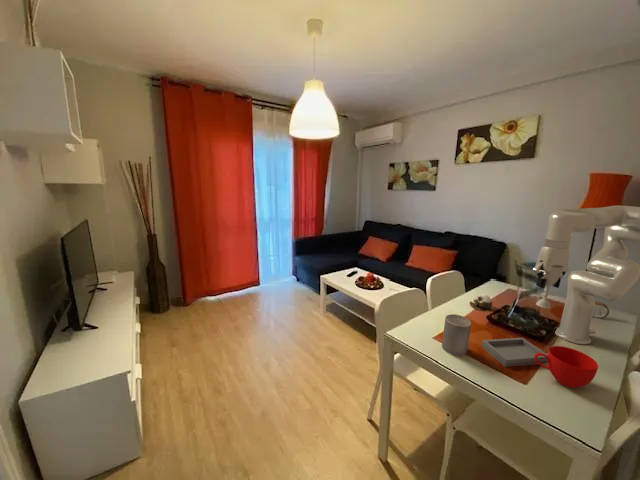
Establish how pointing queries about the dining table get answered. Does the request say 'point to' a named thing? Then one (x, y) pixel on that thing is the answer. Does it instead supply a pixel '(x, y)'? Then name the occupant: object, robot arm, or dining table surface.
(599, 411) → the dining table surface
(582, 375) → the ceramic cup
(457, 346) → the pillar candle
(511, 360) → the tray
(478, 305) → the skull
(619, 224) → the robot arm
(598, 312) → the tin
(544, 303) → the chalice
